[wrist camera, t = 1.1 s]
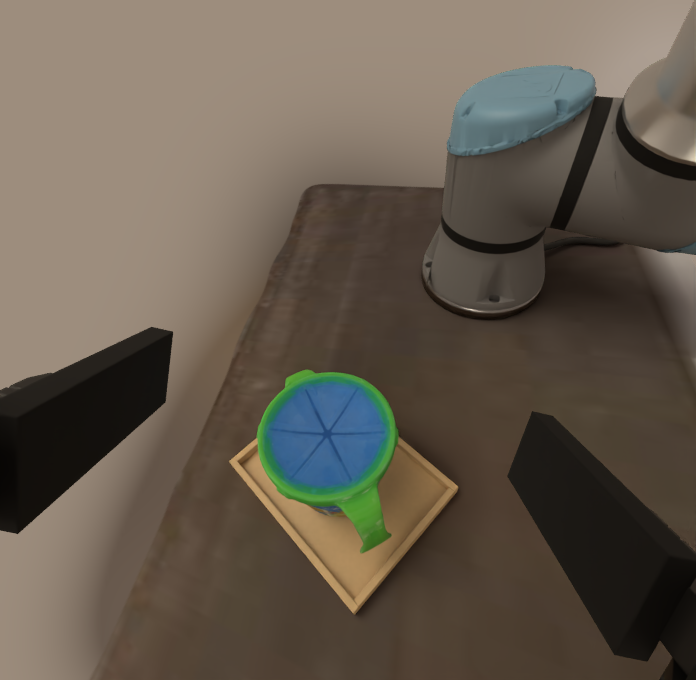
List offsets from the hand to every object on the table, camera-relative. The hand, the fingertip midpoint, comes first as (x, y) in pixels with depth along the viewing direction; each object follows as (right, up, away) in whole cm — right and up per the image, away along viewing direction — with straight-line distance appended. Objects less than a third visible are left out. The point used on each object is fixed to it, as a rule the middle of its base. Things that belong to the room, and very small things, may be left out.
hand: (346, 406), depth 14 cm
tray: (-1, -11, +24) cm, 26 cm away
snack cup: (-1, -11, +24) cm, 26 cm away
